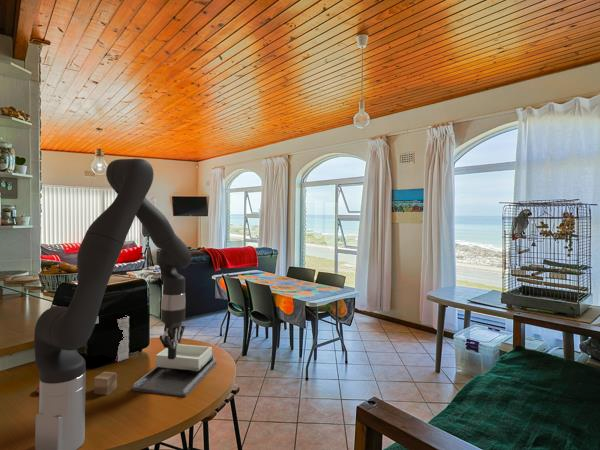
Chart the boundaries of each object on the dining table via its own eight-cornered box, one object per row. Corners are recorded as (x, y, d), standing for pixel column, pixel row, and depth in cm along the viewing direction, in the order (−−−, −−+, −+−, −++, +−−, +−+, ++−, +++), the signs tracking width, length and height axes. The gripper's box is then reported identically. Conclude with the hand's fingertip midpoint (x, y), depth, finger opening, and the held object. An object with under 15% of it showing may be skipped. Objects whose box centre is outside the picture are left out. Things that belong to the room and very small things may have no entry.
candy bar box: (100, 355, 141) (100, 313, 141) (112, 351, 146) (113, 311, 145) (117, 362, 135) (117, 319, 135) (129, 358, 140) (130, 316, 139)
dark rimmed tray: (185, 396, 112) (186, 383, 112) (132, 390, 115) (132, 378, 115) (216, 364, 137) (216, 353, 137) (171, 359, 139) (171, 349, 139)
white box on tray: (198, 375, 124) (198, 359, 124) (155, 371, 126) (156, 355, 126) (211, 361, 135) (212, 347, 135) (172, 358, 138) (172, 343, 138)
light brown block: (107, 395, 112) (107, 379, 112) (94, 393, 113) (94, 377, 113) (116, 388, 116) (117, 372, 116) (104, 386, 117) (104, 371, 117)
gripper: (174, 312, 114) (172, 367, 114) (193, 303, 127) (191, 352, 127) (152, 310, 115) (150, 365, 115) (172, 301, 128) (171, 350, 129)
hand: (171, 358), depth 121 cm, fingers closed
